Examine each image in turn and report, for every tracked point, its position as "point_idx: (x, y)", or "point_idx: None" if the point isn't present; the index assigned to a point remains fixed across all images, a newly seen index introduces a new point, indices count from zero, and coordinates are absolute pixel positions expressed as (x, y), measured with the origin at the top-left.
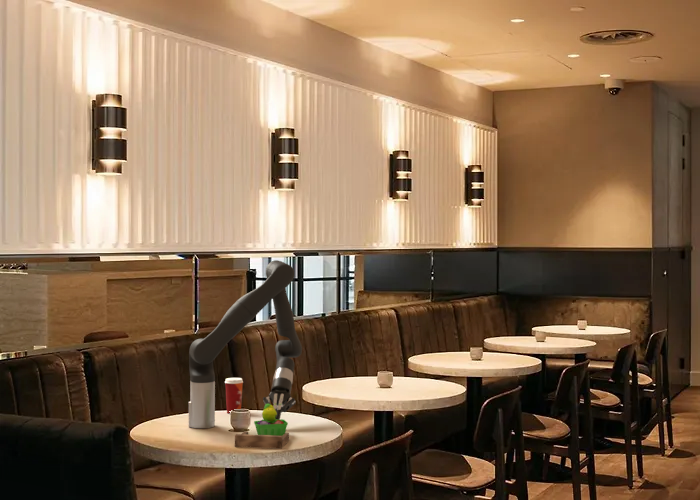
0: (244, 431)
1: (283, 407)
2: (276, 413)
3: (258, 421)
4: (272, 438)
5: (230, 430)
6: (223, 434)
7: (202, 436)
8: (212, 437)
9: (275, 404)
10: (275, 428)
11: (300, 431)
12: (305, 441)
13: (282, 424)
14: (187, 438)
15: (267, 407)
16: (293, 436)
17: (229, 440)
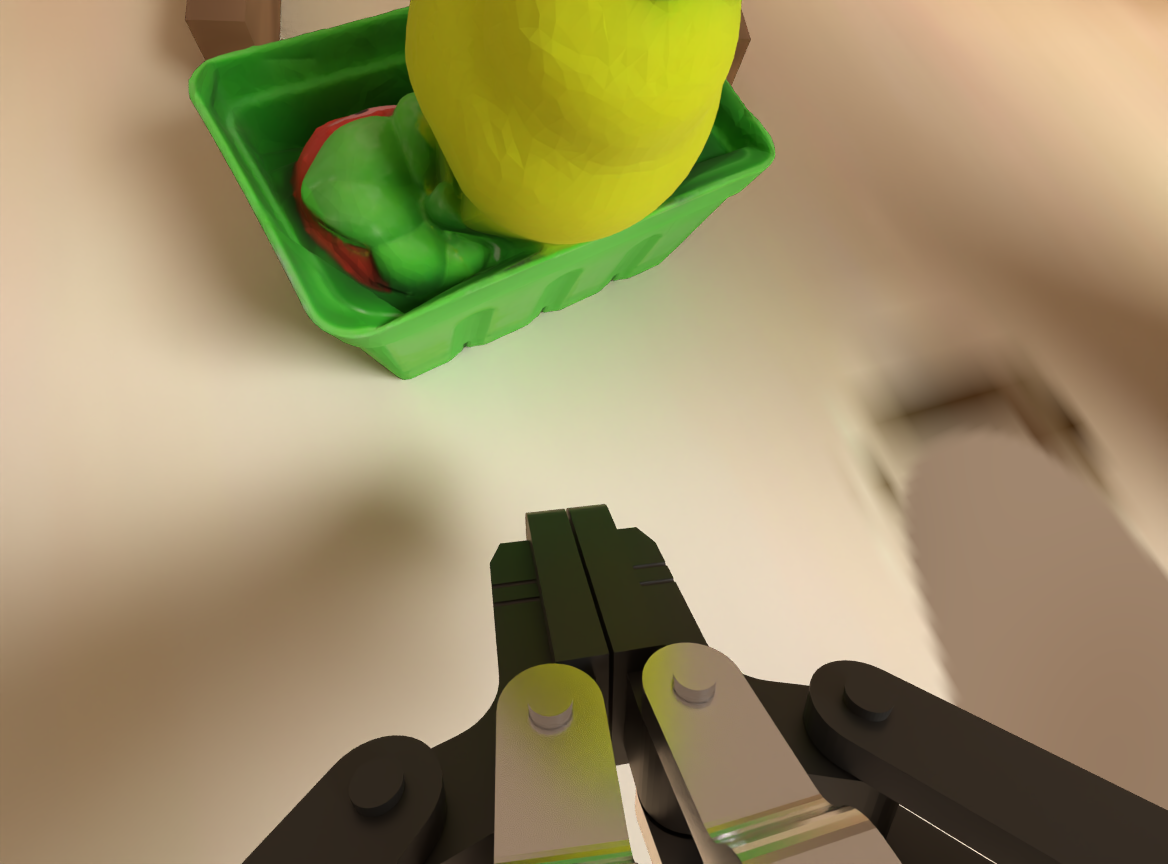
0: (747, 39)
1: (394, 761)
2: (406, 37)
3: (720, 168)
4: None
5: (1053, 410)
6: (990, 222)
7: (1090, 125)
8: (995, 105)
9: (758, 823)
10: (403, 91)
11: (125, 610)
12: (5, 69)
13: (281, 52)
14: (1133, 54)
15: None
16: (198, 271)
17: (803, 31)
